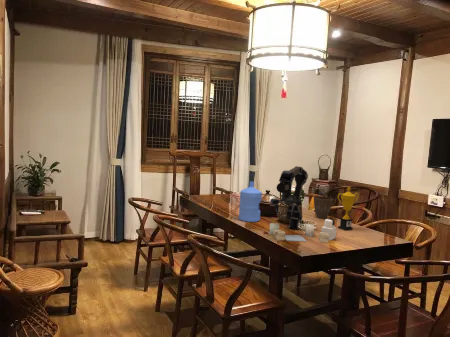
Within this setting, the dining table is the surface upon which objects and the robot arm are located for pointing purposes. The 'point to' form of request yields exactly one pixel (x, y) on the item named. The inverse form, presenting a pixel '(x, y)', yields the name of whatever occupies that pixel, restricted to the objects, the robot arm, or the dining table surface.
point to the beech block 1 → (279, 235)
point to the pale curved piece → (273, 227)
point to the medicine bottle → (329, 228)
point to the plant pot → (322, 206)
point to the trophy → (347, 209)
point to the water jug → (250, 204)
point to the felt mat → (294, 238)
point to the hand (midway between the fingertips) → (284, 215)
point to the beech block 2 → (323, 237)
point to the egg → (309, 230)
